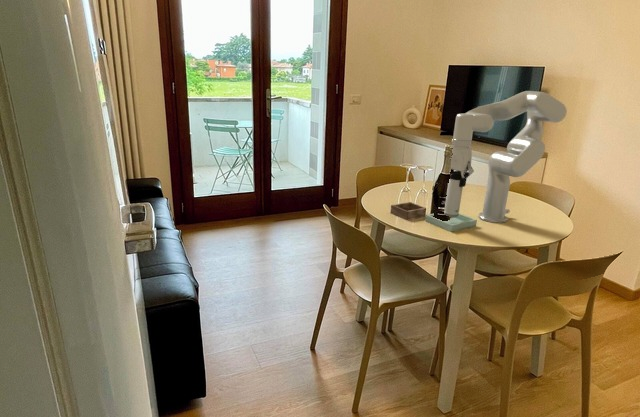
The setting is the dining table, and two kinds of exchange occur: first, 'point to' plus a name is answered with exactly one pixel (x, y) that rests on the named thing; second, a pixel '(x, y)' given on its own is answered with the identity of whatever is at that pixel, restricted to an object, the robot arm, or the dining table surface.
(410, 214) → the brown wooden open box
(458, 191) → the travel mug
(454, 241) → the dining table surface
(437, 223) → the tray
